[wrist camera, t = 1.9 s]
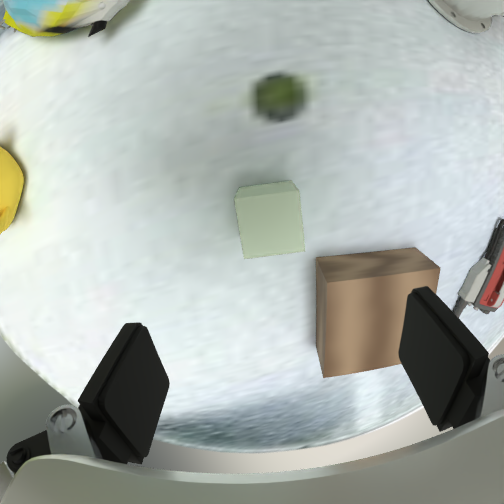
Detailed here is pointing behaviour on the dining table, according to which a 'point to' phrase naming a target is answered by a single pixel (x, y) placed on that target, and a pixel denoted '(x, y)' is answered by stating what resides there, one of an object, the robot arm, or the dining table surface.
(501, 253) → the walkie-talkie
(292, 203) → the sage block
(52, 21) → the decorative bird
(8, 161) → the teapot
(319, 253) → the dining table surface
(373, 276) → the walnut box
